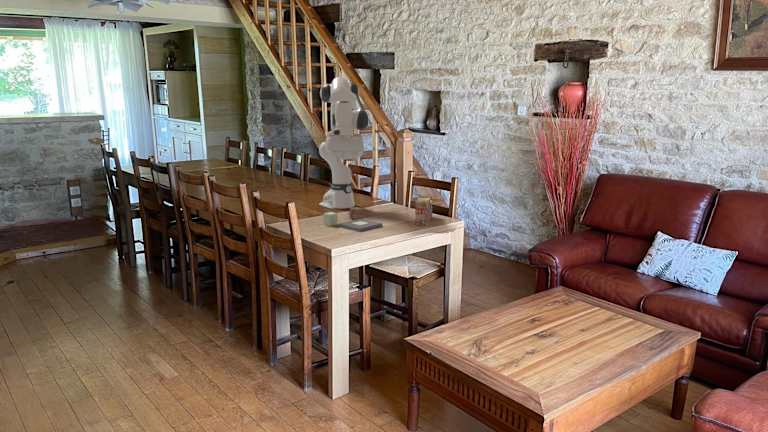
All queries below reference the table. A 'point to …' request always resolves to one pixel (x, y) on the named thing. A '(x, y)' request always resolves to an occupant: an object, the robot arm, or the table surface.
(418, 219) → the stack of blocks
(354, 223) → the baseplate
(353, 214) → the walnut block
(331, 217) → the green block
